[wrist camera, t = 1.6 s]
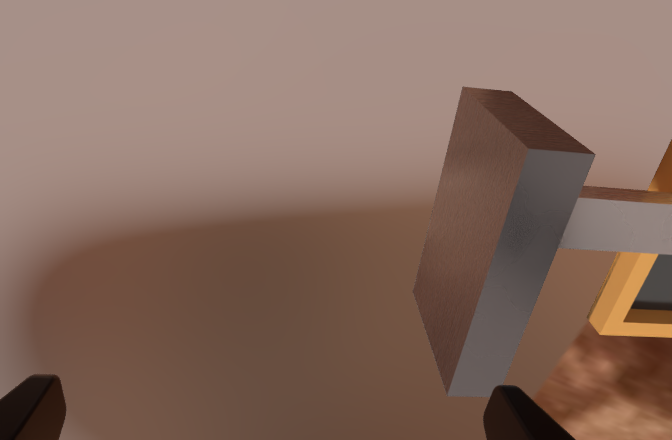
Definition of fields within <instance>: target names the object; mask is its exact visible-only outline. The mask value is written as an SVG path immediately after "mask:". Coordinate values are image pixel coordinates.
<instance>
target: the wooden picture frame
mask: <svg viewBox="0 0 672 440" xmlns="http://www.w3.org/2000/svg"><path fill="white" fill-rule="evenodd" d="M647 191H658V192H671V193H672V140H671V142H670V144H669V146H668V149H667V151H666V153H665V155H664V157H663V159H662V161H661V163H660V165H659V167H658V169H657V171H656V174H655V176H654V178H653V180H652V182H651V184H650V186H649V188H648V190H647ZM587 318H588V320H589V321H590V322H591V324H592V325H593V326H594V328H595V329H596V330H597V332H598V333H599V334H600V335H619V336H646V337H672V255H667V254H650V253H634V252H618V253H617V255H616V257H615V259H614V261H613V264H612V266H611V268H610V270H609V272H608V274H607V276H606V278H605V280H604V282H603V284H602V286H601V289H600V291H599V293H598V295H597V297H596V299H595V301H594V304H593V305H592V307H591V310H590V312H589V314H588V316H587Z"/></svg>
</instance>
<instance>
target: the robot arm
mask: <svg viewBox="0 0 672 440" xmlns="http://www.w3.org/2000/svg"><path fill="white" fill-rule="evenodd" d="M65 416H66V403H65V398H64V394H63V390H62V384H61V380H60V378H59V377H58V376H57V375H53V374H34V375H32V376H29V377H28V378H26V379H25V380H24V381H23V382H22V383H20V384H19V385H18V386H16V387H15V388H14V389H13V390H11V391H10V392H9V393H8V394H7V395H5V396H4V397H3V398H1V399H0V440H59V437H60V434H61V430H62V427H63V424H64V420H65ZM483 421H484V422H483V423H484V429H485V433H486V438H487V440H575V439H574V438H573V437H572V436H571V435H570V434H569V433H568V432H567V431H566V430H565V429H564V428H562V427H561V426H560V425H559V424H558V423H557V422H556V421H555V420H554V419H553V418H552V417H551V416H550V415H548V414H547V413H546V412H545V411H544V410H543V409H542V408H541V407H540V406H539V405H538V404H537V403H535V402H534V401H533V400H532V399H531V398H530V397H529V396H528V395H527V394H526V393H525V392H523V391H522V390H521V389H520V388H519V387H517V386H513V385H498V386H496V387H495V388H494V389H493V391H492V394H491V396H490V399H489V402H488V404H487V407H486V409H485V412H484V416H483Z"/></svg>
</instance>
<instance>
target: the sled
mask: <svg viewBox="0 0 672 440" xmlns="http://www.w3.org/2000/svg"><path fill="white" fill-rule="evenodd" d="M594 157H595V154H594V153H593V152H592V151H590V150H589V149H588V148H586V147H585V146H584V145H582V144H581V143H579V142H578V141H577V140H576V139H574V138H573V137H572V136H570V135H569V134H568V133H566V132H565V131H564V130H562V129H561V128H560V127H558V126H557V125H556V124H554V123H553V122H552V121H550V120H549V119H548V118H546V117H545V116H544V115H542V114H541V113H540V112H538V111H537V110H536V109H534V108H533V107H531V106H530V105H529V104H528V103H526V102H525V101H524V100H522V99H521V98H520V97H518V96H517V95H516V94H514V93H513V92H511V91H501V90H491V89H480V88H470V87H462V92H461V96H460V100H459V104H458V108H457V112H456V116H455V120H454V124H453V129H452V133H451V137H450V141H449V145H448V149H447V153H446V157H445V162H444V166H443V170H442V174H441V178H440V182H439V186H438V190H437V194H436V199H435V203H434V207H433V211H432V215H431V219H430V223H429V227H428V232H427V236H426V240H425V244H424V248H423V252H422V256H421V260H420V264H419V269H418V273H417V276H416V281H415V285H414V289H413V294H414V297H415V300H416V302H417V306H418V309H419V312H420V315H421V318H422V321H423V324H424V327H425V330H426V333H427V336H428V340H429V343H430V346H431V349H432V351H433V355H434V358H435V361H436V364H437V367H438V370H439V373H440V376H441V379H442V382H443V385H444V388H445V391H446V394H447V396H467V397H490V396H491V394H492V391H493V389H494V388H495V387H496V386H498V385H503V382H504V380H505V377H506V375H507V373H508V370H509V368H510V365H511V363H512V360H513V357H514V355H515V352H516V350H517V347H518V345H519V343H520V340H521V338H522V335H523V333H524V330H525V328H526V325H527V323H528V320H529V318H530V315H531V313H532V311H533V308H534V306H535V303H536V301H537V298H538V296H539V293H540V290H541V288H542V286H543V283H544V281H545V278H546V276H547V273H548V271H549V268H550V266H551V263H552V261H553V259H554V256H555V253H556V251H557V249H558V248H569V249H583V250H602V251H617V252H634V253H650V254H667V255H672V193H671V192H658V191H645V190H631V189H618V188H605V187H591V186H583V184H584V182H585V179H586V177H587V174H588V172H589V169H590V167H591V164H592V162H593V159H594Z"/></svg>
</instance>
